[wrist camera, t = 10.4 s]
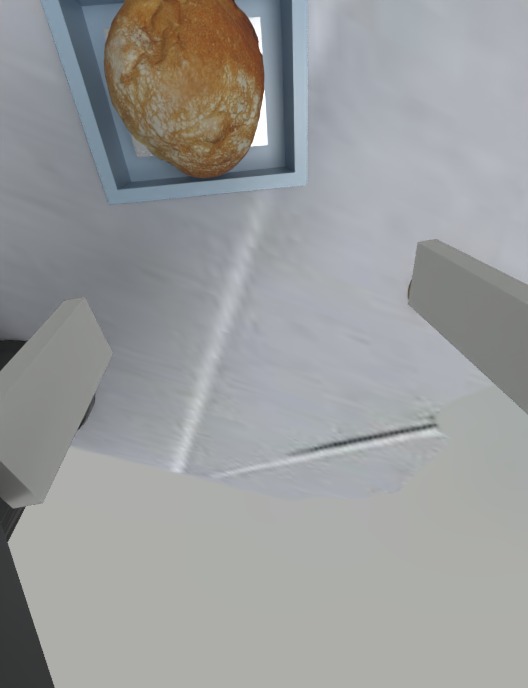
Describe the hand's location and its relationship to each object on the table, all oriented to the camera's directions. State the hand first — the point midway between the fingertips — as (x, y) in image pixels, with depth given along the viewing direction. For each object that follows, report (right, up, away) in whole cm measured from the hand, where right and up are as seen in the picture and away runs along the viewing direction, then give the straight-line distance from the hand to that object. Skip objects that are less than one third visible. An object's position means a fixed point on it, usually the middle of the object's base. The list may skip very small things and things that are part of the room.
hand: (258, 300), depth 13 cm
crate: (-5, +19, +13) cm, 24 cm away
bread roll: (-5, +16, +9) cm, 19 cm away
